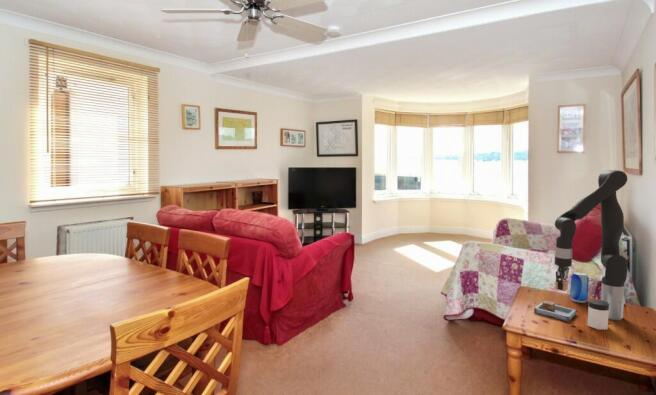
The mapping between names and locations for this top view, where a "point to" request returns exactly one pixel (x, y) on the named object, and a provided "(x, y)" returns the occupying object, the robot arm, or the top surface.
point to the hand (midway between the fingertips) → (561, 288)
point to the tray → (556, 312)
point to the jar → (598, 314)
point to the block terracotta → (565, 285)
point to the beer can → (579, 287)
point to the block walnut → (549, 306)
